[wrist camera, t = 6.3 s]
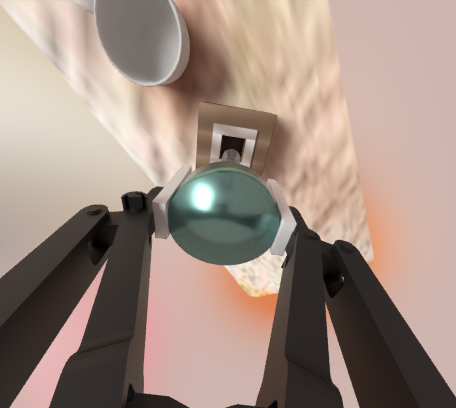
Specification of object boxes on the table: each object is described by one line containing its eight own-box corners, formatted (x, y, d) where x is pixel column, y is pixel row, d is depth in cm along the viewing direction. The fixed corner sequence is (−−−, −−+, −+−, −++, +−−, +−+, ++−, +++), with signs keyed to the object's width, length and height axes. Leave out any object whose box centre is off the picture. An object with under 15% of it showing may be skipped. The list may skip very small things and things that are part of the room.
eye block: (205, 101, 31) (198, 102, 26) (270, 113, 32) (277, 115, 26) (201, 165, 37) (194, 176, 32) (255, 174, 38) (258, 186, 32)
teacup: (208, 39, 27) (198, 19, 20) (175, 103, 32) (157, 104, 25) (122, -44, 23) (74, -104, 16) (99, 42, 28) (54, 23, 21)
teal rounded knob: (204, 177, 26) (168, 257, 13) (208, 126, 22) (164, 165, 9) (250, 184, 26) (263, 271, 13) (262, 135, 22) (296, 186, 9)
